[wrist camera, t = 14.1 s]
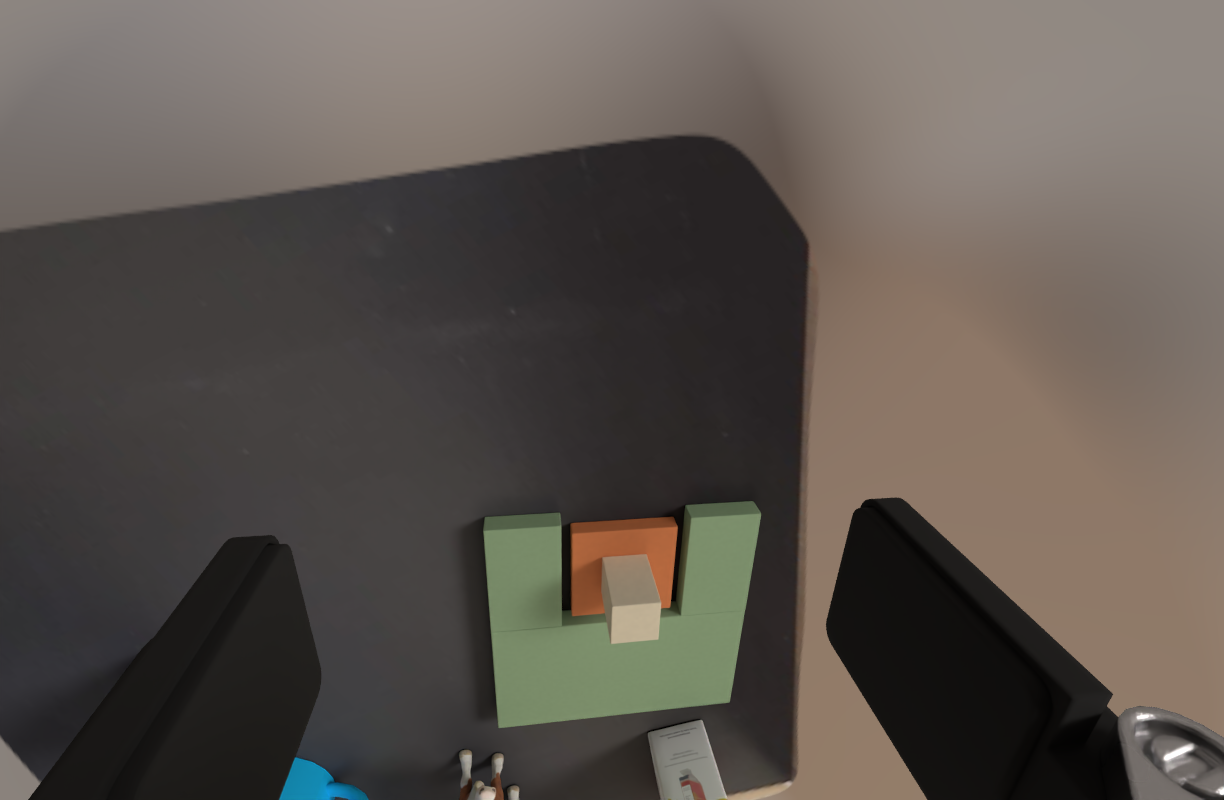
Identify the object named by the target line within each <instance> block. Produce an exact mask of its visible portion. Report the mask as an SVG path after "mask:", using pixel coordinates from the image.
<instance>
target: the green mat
mask: <svg viewBox="0 0 1224 800" xmlns="http://www.w3.org/2000/svg"><path fill="white" fill-rule="evenodd" d="M760 518H761V513H760V511H759V510H758V508H757V506H756V505H755V503H754V502H753V501H746V502H729V503H712V504H695V505H685V513H684V523H683V533H682V543H681V553H680V563H679V573H678V583H677V593H676V601H673V602H671V605H670V608H661V613H660V625H659V637H658V640H648V641H638V642H627V643H617V644H611V643H610V638H609V633H608V627H607V621H606V616H605V613H603V614H591V615H580V616H572V613H571V610H565V611H562V555H561V519H560V513H544V514H527V515H510V516H493V517H485V519H484V529H483V534H484V547H485V561H486V574H487V587H488V600H489V614H490V627H491V640H492V653H493V666H494V679H495V693H496V706H497V719H498V728H504V727H513V726H522V725H531V724H540V723H549V722H558V721H567V720H576V719H585V718H594V717H603V716H612V715H621V714H630V713H638V712H647V711H656V710H665V709H674V708H683V707H692V706H701V705H710V704H719V703H728V702H730V696H731V690H732V684H733V678H734V672H735V666H736V660H737V654H738V648H739V642H740V636H741V630H742V624H743V618H744V612H745V608H746V602H747V596H748V590H749V584H750V578H751V572H752V566H753V560H754V554H755V548H756V542H757V536H758V530H759V524H760Z"/></svg>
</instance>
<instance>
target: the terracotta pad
mask: <svg viewBox="0 0 1224 800" xmlns="http://www.w3.org/2000/svg"><path fill="white" fill-rule="evenodd" d="M677 530H678V527H677V524H676V522H675V519H674V517H659V518H643V519H627V520H612V521H596V522H580V523H571V524H570V604H571V613H572V616H580V615H591V614H603V613H605V616H606V621H607V627H608V633H609V638H610V643H611V644H617V643H627V642H638V641H648V640H658V637H659V625H660V613H661V608H670V605H671V594H672V583H673V573H674V562H675V551H676V540H677Z"/></svg>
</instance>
